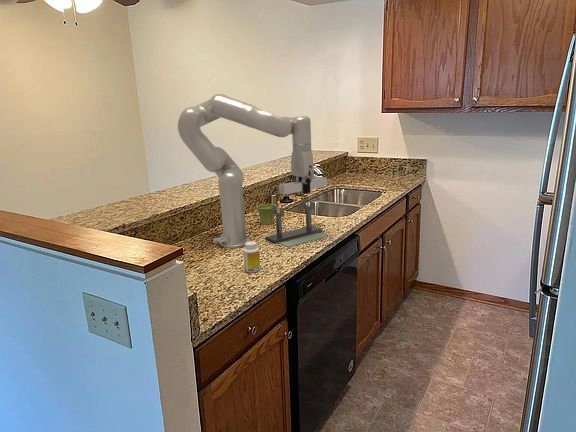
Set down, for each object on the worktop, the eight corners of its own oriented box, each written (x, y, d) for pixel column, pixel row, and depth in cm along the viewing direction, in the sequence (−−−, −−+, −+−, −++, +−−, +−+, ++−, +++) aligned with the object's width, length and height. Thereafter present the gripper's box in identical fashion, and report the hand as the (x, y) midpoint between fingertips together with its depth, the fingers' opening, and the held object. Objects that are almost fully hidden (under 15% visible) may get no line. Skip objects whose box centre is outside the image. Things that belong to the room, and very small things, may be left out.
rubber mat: (287, 247, 180) (287, 246, 180) (280, 244, 185) (280, 243, 185) (327, 236, 192) (327, 235, 192) (319, 234, 196) (319, 232, 196)
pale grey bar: (284, 194, 176) (283, 185, 175) (279, 193, 178) (278, 184, 177) (327, 186, 188) (326, 177, 187) (321, 185, 190) (321, 176, 189)
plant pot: (273, 226, 211) (272, 208, 209) (254, 225, 214) (253, 208, 212) (279, 221, 220) (278, 204, 217) (262, 220, 223) (261, 203, 220)
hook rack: (274, 244, 186) (272, 210, 182) (265, 240, 191) (263, 207, 187) (322, 231, 200) (321, 200, 196) (312, 228, 205) (312, 197, 202)
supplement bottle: (263, 269, 158) (262, 242, 156) (252, 274, 155) (250, 246, 152) (253, 266, 162) (251, 239, 160) (241, 270, 158) (239, 243, 156)
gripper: (282, 147, 183) (284, 191, 188) (307, 150, 170) (308, 197, 175) (297, 145, 187) (299, 188, 192) (322, 148, 174) (323, 194, 179)
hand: (303, 192), depth 183 cm, fingers closed on pale grey bar, 3 cm apart
